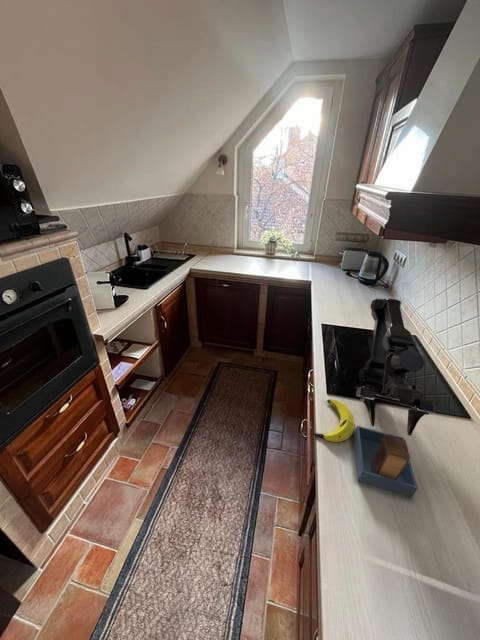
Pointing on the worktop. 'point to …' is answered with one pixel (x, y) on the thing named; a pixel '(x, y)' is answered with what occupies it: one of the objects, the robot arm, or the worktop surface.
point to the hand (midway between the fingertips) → (390, 430)
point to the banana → (345, 424)
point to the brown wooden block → (390, 457)
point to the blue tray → (364, 454)
